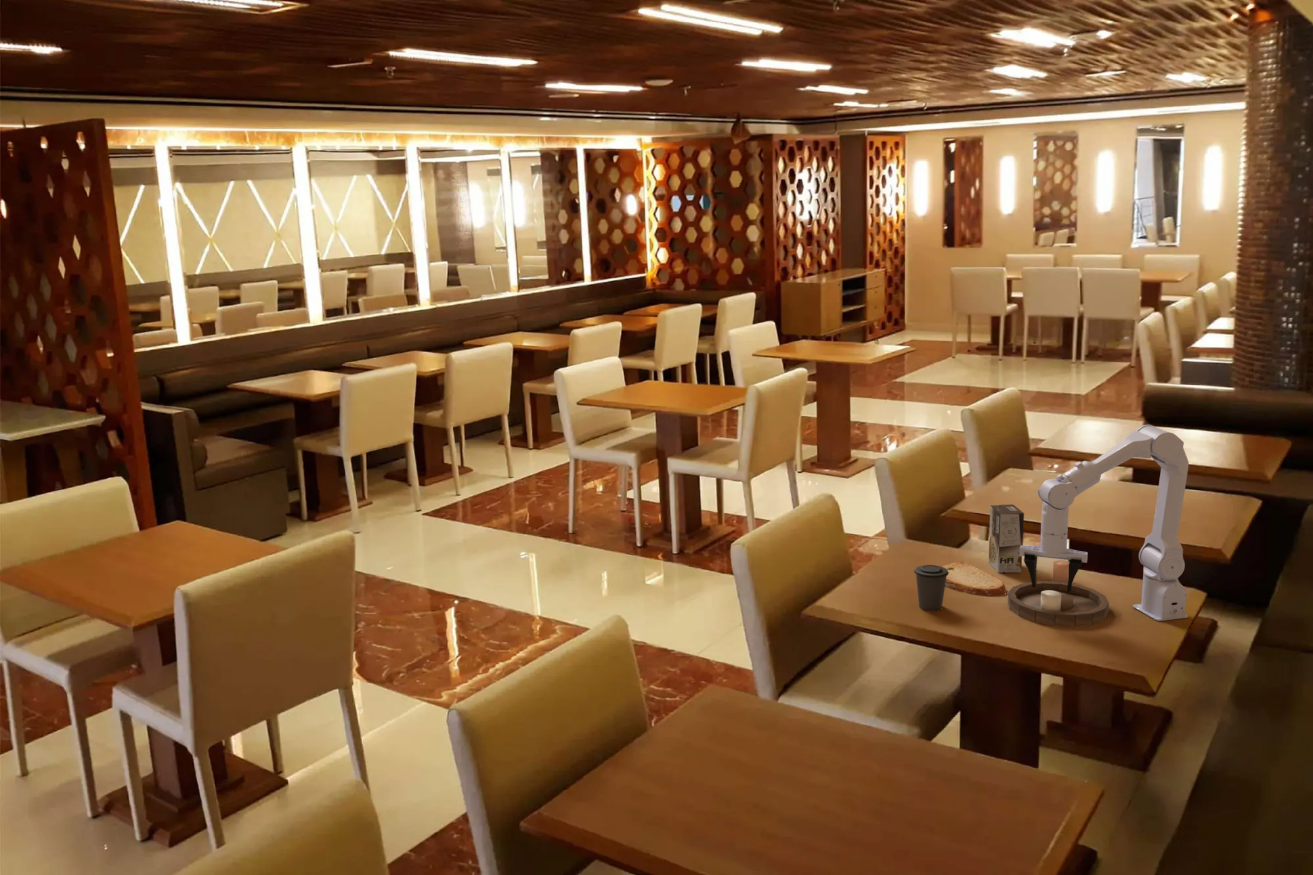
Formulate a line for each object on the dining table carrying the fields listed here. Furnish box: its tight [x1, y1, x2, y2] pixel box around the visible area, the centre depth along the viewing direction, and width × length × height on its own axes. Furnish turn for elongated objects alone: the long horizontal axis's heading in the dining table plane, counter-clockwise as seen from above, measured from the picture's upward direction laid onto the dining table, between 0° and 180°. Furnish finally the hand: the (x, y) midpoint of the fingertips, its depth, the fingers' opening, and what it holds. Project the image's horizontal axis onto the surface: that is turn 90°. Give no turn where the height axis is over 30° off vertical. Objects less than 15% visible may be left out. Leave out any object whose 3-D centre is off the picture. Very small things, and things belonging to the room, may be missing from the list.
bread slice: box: [941, 561, 1008, 597], centre depth 272 cm, size 18×18×4 cm
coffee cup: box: [913, 564, 949, 612], centre depth 255 cm, size 8×8×10 cm
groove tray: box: [1007, 580, 1110, 627], centre depth 252 cm, size 22×22×3 cm
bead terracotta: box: [1052, 559, 1070, 583], centre depth 270 cm, size 4×4×5 cm
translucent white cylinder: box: [1040, 590, 1061, 612], centre depth 247 cm, size 4×4×5 cm
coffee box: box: [988, 503, 1025, 574], centre depth 280 cm, size 9×6×16 cm
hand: (1051, 587), depth 246 cm, fingers open, 7 cm apart
